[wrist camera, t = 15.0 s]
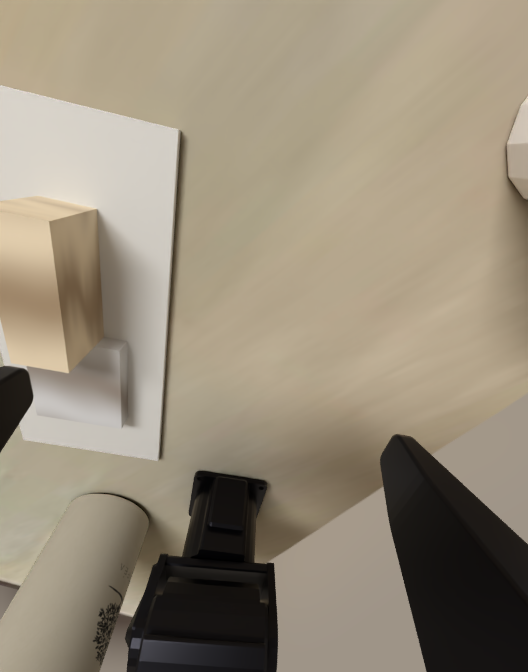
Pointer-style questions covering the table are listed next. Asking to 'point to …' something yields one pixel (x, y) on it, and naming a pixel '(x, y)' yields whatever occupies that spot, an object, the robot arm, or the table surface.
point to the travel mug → (74, 589)
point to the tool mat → (104, 242)
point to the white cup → (519, 151)
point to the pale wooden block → (60, 311)
